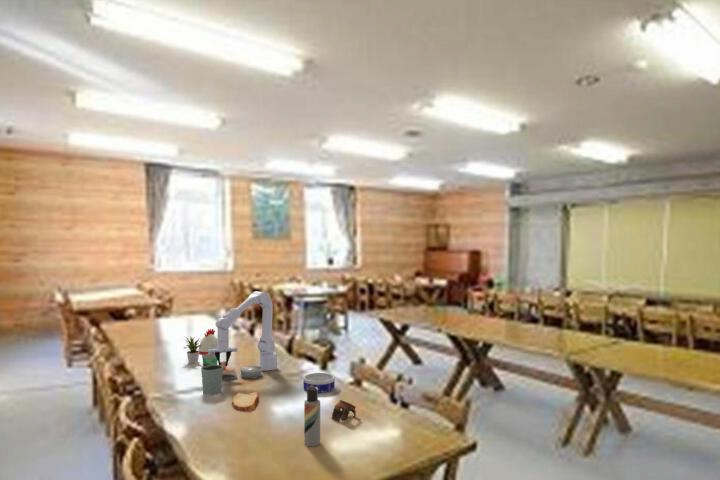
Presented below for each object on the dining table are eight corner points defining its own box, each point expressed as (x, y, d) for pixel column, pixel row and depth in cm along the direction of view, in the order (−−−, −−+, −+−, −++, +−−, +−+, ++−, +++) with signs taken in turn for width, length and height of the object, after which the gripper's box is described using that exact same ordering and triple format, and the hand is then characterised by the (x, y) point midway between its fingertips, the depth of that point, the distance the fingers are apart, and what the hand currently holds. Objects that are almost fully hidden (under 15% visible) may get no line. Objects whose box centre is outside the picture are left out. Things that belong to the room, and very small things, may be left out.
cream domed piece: (225, 351, 322) (225, 328, 322) (208, 355, 310) (208, 331, 310) (210, 348, 330) (210, 326, 330) (193, 352, 318) (193, 329, 318)
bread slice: (246, 413, 207) (246, 404, 207) (218, 405, 217) (218, 397, 217) (276, 402, 222) (276, 393, 222) (248, 395, 232) (248, 387, 232)
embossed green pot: (203, 396, 228) (203, 370, 228) (199, 390, 237) (199, 366, 237) (225, 393, 233) (225, 368, 233) (220, 387, 242) (220, 363, 242)
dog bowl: (339, 386, 246) (339, 374, 246) (327, 395, 231) (327, 382, 231) (311, 383, 251) (311, 371, 251) (298, 391, 236) (298, 379, 236)
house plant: (173, 363, 289) (173, 336, 289) (189, 358, 302) (189, 332, 302) (192, 366, 284) (192, 337, 284) (208, 360, 297) (208, 333, 297)
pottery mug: (327, 417, 204) (336, 397, 206) (348, 426, 205) (356, 407, 207) (333, 419, 192) (341, 399, 195) (354, 429, 193) (362, 408, 196)
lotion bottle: (311, 439, 180) (311, 384, 180) (323, 442, 177) (323, 386, 177) (301, 444, 175) (301, 388, 175) (313, 448, 172) (313, 390, 172)
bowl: (260, 372, 270) (260, 365, 270) (263, 377, 260) (263, 370, 260) (239, 374, 267) (239, 366, 267) (241, 379, 256) (241, 371, 256)
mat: (235, 372, 271) (235, 371, 271) (237, 379, 257) (237, 377, 257) (205, 374, 266) (205, 373, 266) (205, 381, 252) (205, 380, 252)
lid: (237, 368, 267) (237, 359, 267) (231, 374, 255) (231, 364, 255) (215, 368, 267) (215, 359, 267) (208, 374, 255) (208, 364, 255)
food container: (212, 373, 269) (212, 354, 269) (201, 372, 270) (201, 354, 270) (222, 367, 281) (222, 350, 281) (213, 366, 282) (213, 349, 282)
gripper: (236, 338, 267) (236, 363, 267) (208, 339, 263) (208, 365, 263) (237, 340, 260) (237, 366, 260) (208, 342, 256) (208, 368, 256)
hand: (223, 366), depth 261 cm, fingers closed on lid, 3 cm apart
